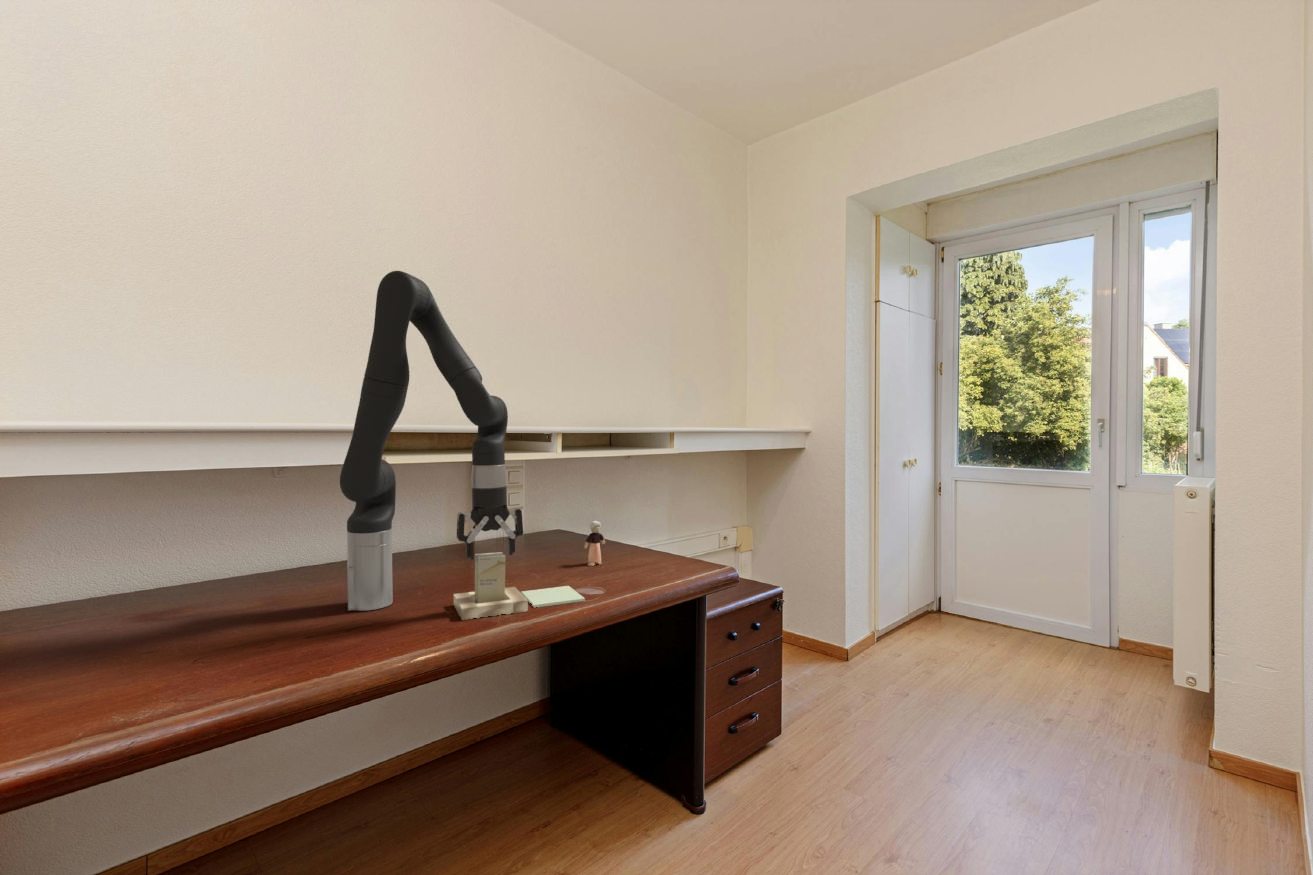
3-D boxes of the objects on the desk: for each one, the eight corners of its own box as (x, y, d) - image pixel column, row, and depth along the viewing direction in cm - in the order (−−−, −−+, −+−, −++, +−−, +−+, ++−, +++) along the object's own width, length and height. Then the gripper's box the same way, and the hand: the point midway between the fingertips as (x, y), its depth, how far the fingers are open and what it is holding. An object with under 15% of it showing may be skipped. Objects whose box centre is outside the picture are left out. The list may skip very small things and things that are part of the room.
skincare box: (477, 612, 136) (476, 557, 136) (474, 607, 140) (473, 553, 140) (506, 609, 139) (505, 555, 138) (502, 603, 143) (502, 551, 143)
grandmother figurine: (592, 567, 177) (592, 523, 177) (582, 565, 179) (581, 521, 179) (608, 562, 184) (608, 519, 183) (598, 560, 186) (598, 518, 185)
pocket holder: (462, 620, 131) (462, 608, 131) (453, 604, 142) (453, 594, 142) (527, 611, 137) (527, 600, 137) (514, 597, 148) (514, 586, 148)
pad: (534, 607, 140) (534, 605, 140) (521, 593, 151) (521, 591, 151) (584, 600, 145) (584, 598, 145) (568, 588, 156) (568, 585, 156)
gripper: (458, 488, 132) (460, 564, 133) (525, 484, 139) (526, 556, 139) (453, 485, 139) (455, 557, 140) (517, 481, 145) (518, 550, 146)
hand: (490, 557), depth 139 cm, fingers open, 8 cm apart
